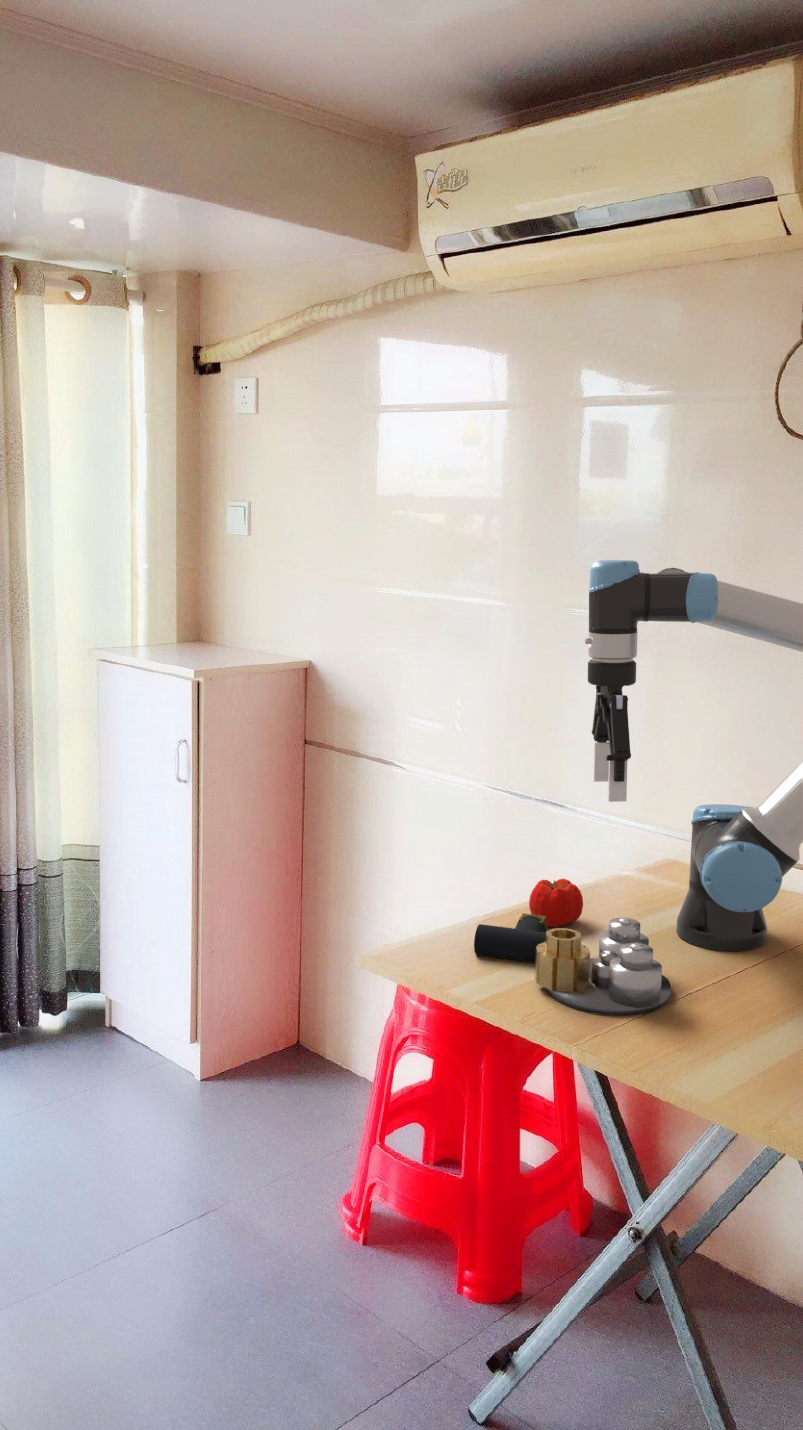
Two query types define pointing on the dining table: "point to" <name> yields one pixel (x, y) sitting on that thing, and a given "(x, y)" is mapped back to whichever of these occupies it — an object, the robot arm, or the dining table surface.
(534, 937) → the pipe connector
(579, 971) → the brass stepped collar
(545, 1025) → the dining table surface
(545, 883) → the tomato
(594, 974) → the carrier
